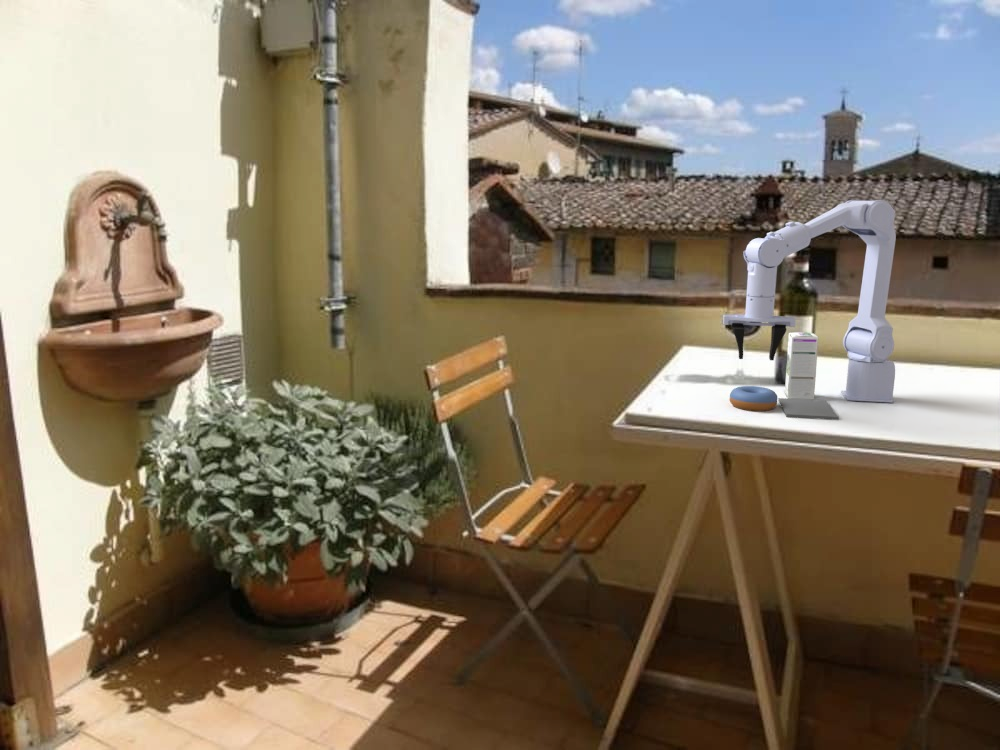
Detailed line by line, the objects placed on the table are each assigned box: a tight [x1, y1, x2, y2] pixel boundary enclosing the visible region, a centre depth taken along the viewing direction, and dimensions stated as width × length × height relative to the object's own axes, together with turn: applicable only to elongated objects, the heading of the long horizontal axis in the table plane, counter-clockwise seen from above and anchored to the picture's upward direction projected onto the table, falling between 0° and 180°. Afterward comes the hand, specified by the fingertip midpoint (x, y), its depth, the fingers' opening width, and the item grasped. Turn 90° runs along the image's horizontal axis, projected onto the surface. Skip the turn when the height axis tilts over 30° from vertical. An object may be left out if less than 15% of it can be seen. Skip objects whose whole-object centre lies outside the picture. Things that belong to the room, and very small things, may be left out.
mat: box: [777, 397, 839, 420], centre depth 168 cm, size 10×14×1 cm
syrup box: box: [784, 331, 819, 400], centre depth 178 cm, size 6×6×14 cm
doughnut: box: [729, 385, 779, 412], centre depth 171 cm, size 10×10×5 cm
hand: (756, 358), depth 169 cm, fingers open, 6 cm apart
